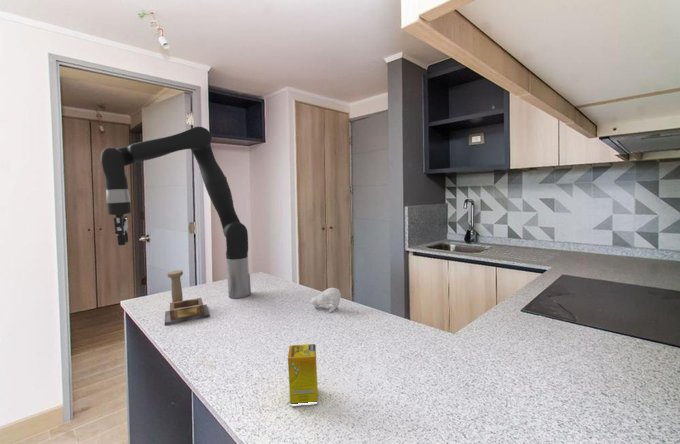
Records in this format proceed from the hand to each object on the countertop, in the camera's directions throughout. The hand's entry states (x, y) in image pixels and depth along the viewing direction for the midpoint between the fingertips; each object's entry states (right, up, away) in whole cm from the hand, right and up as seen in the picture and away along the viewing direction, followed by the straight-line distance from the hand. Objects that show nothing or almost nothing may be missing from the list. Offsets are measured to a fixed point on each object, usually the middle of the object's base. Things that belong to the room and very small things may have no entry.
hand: (123, 243), depth 127 cm
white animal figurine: (+78, -26, +1) cm, 82 cm away
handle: (+18, -27, +7) cm, 33 cm away
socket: (+25, -27, -1) cm, 37 cm away
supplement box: (+76, -31, -54) cm, 98 cm away
